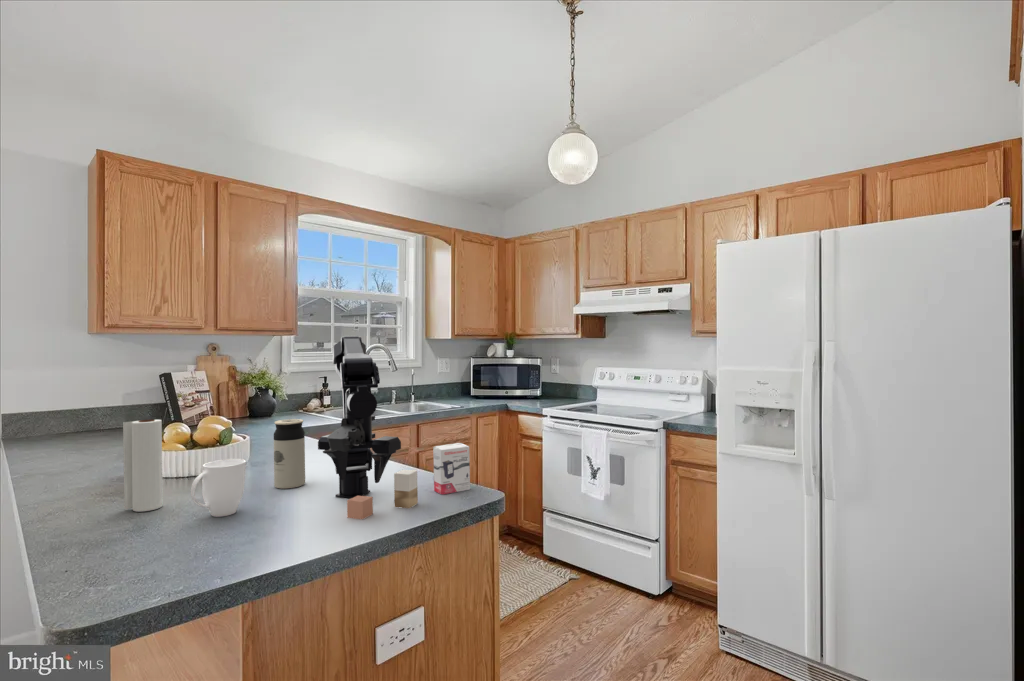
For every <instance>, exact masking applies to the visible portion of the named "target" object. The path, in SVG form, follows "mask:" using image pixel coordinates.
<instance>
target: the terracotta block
mask: <svg viewBox="0 0 1024 681" xmlns="http://www.w3.org/2000/svg"><path fill="white" fill-rule="evenodd" d="M373 500H374V498H373V496H370V495H369V496H367V495H363V496H356V497H353V498H349V499H347V500H346V502H347V503H346V505H347V506H346V508H347V509H346V512H347V514H346V515H347V516H346V518H347V519H353V520H354V519H355V520H365V519H366V518H368V517H370V516H372V515H373V514H374V504H373V503H374V502H373Z"/></svg>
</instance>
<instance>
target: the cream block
mask: <svg viewBox="0 0 1024 681" xmlns="http://www.w3.org/2000/svg"><path fill="white" fill-rule="evenodd" d="M393 478H394V479H393V481H394V483H393V485H394V486H393V489H394V490H397V491H411V490H413V489H415V488H417V489H418V470H416V469H415V470H412V469H401V470H398V471H397V472H394V474H393Z"/></svg>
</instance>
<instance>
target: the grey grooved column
mask: <svg viewBox="0 0 1024 681" xmlns="http://www.w3.org/2000/svg"><path fill="white" fill-rule="evenodd" d="M162 422H163V421H162V419H152V418H151V419H141V420H133V421H123V422H122V423H123V424H122V426H123V427H122V431H123V432H122V435H123V436H122V439H123V442H122V443H123V446H122V448H123V506H124V507H123V509H124V510H129V509H132V511H134V512H137V513H138V512H149V511H153V510H157V509H160V508H162V507H163V505H164V504H163V499H164V498H163V497H164V496H163V438H162V437H163V436H162V432H163V431H162V426H163V425H162V424H163V423H162Z"/></svg>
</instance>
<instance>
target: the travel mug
mask: <svg viewBox="0 0 1024 681" xmlns="http://www.w3.org/2000/svg"><path fill="white" fill-rule="evenodd" d="M303 423H304V420H303V419H302V418H301V419H300V418H299V419H298V418H291V419H290V418H289V419H279V420H276V421H274V424H275V430H274V432H273V482H274V483H273V484H274V487H275V488H277V489H282V490H288V489H289V490H290V489H296V488H299V487H302V486H304V485H305V484H306V450H305V449H306V447H305V446H306V445H305V444H306V443H305V441H306V440H305V439H306V438H305V435H306V434H305V433H306V432H305V430H304V427H303Z"/></svg>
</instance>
